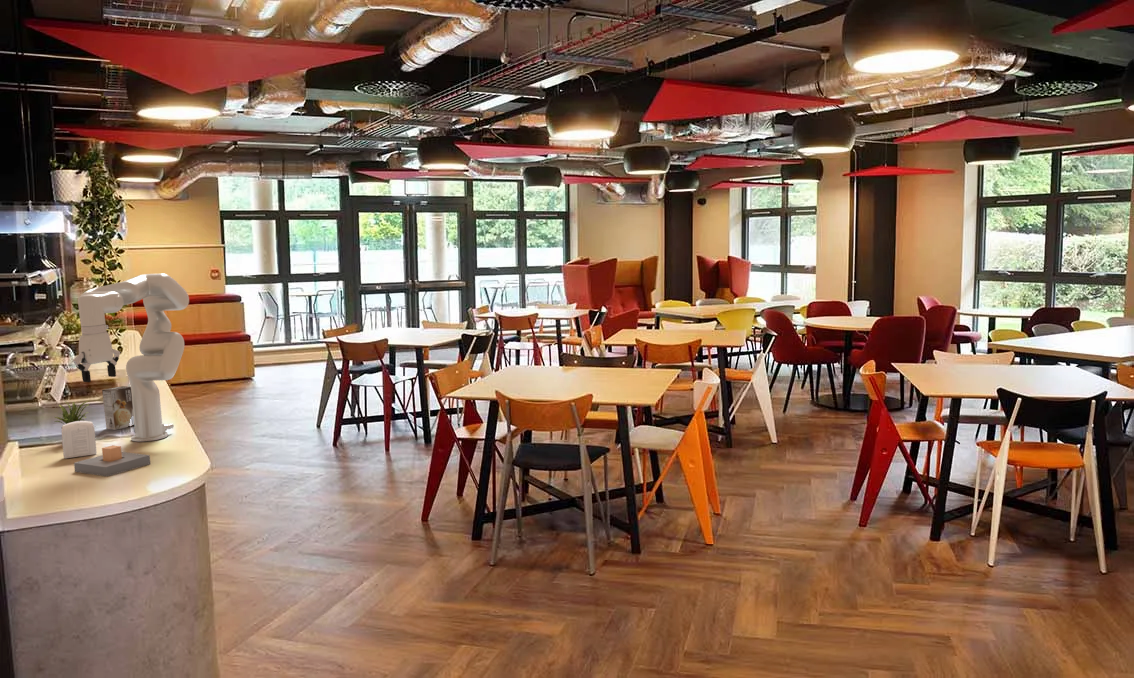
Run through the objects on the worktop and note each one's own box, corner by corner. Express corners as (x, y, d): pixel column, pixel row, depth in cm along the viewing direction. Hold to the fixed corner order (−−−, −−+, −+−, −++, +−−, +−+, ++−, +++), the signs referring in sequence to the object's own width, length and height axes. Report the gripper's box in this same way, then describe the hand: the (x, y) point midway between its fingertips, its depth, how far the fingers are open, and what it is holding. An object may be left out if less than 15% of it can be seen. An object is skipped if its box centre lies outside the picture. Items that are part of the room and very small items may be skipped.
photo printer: (96, 452, 317) (92, 418, 315) (97, 454, 313) (94, 420, 312) (63, 457, 311) (59, 422, 310) (64, 459, 308) (60, 424, 306)
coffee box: (127, 424, 365) (123, 385, 363) (136, 425, 362) (132, 386, 360) (105, 428, 357) (101, 389, 355) (114, 430, 354) (110, 390, 352)
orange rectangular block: (115, 465, 297) (113, 445, 296) (122, 466, 295) (120, 446, 294) (103, 468, 293) (101, 448, 292) (111, 469, 291) (109, 449, 291)
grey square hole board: (118, 459, 305) (118, 451, 304) (150, 463, 297) (149, 455, 297) (74, 471, 290) (73, 462, 290) (106, 476, 283) (106, 467, 283)
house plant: (105, 437, 342) (101, 395, 340) (87, 445, 328) (83, 402, 326) (68, 438, 341) (63, 396, 339) (48, 447, 328) (44, 403, 326)
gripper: (108, 326, 315) (114, 374, 317) (63, 333, 299) (69, 383, 302) (123, 327, 311) (129, 375, 314) (78, 334, 296) (84, 384, 299)
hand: (99, 379), depth 308 cm, fingers open, 9 cm apart
